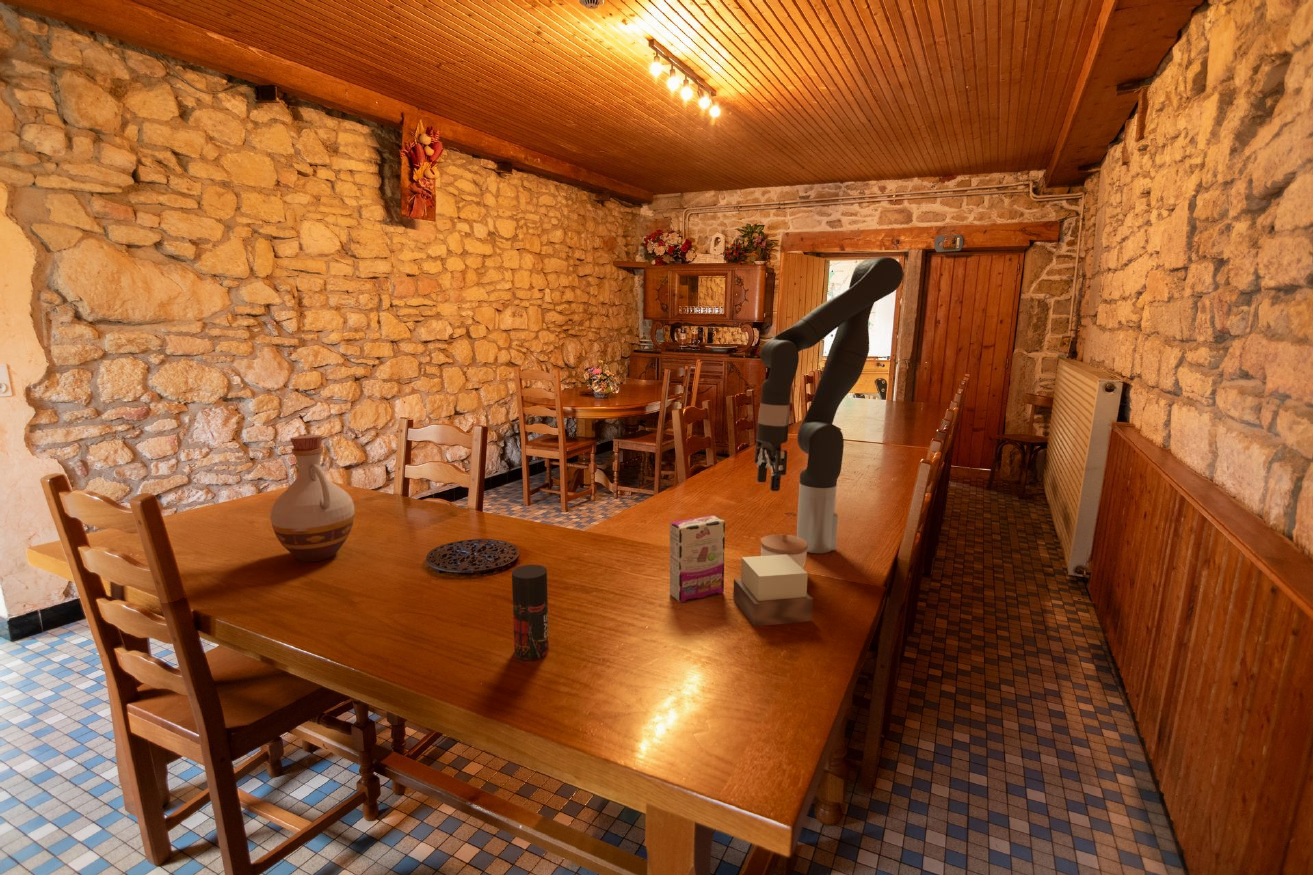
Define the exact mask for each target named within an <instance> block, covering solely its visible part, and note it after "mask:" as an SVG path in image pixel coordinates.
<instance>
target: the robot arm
mask: <svg viewBox="0 0 1313 875" xmlns="http://www.w3.org/2000/svg"><path fill="white" fill-rule="evenodd" d="M903 269H904V268H903V265H902V264H901V263H900V262H899V261H898V260H897V259H895V258H893V257H890V256H881V257H872V258H868V259H864V260H863V261H861V262H859V263H858V264H857V265H856V266H855V268H854V270H853V272H852V275H851V278H850V282H849V286H848V289H846V290H844V291H843V292H842V293H840V294H838V295H836V296H834V297H833V298H830V299H829V300H827V301H825V302H823V303H822V304H820V305H818V306H817V307H815V308H813V309H812V310H811V311H810V312H808V313H807V314H806V315H804V316H803V317H802V318H800V320H798V321H797V322H796V323H795V324H794V325H792V326H790V327H788V328H786V329H785V330H783V331H781V332H780V333H778V334H776V335H774V336H773V337H772V338H770V339H769V340H768V341H766V342H765V343H764V345H763V346H762V348H761V349H760V353H759V354H760V356H759V358H760V361H761V363H762V364H763V365H764V366H765V367H766V368H769V373H768V378H767V379H766V380H764V381H763V383H762V384H761V394H760V403H759V404H760V405H759V410H758V416H757V417H758V418H757V429H756V430H757V431H756V443H755V452H754V459H753V460H754V464H756V467H757V478H756V480H757V482H758V483H766V481H767V473H768V468H769V469H770V473H771V476H770V487H769V488H770V491H772V492H779V491H781V490H780V489H781V478H782V476H786V475H787V463H788V451H787V450H783V449H782V444H786V443H787V442H788V439H789V438H788V437H789V426H790V416H791V411H790V410H791V409H790V406H791V405H790V404H791V390H792V386H793V383H794V380H795V377H796V374H797V373H796V372H797V371H798V366H799V361H800V360H799V359H800V358H799V357H800V355H799V353H800V352H801V351H804V350H807V349H810V348H812V347H814V346H815V345H817V344H818V343H820V342H821V341H823V339H824V338H826V337H827V336H828V335H829V334H831V333H832V332H834V330H835V329H836V331H835V334H834V338H833V340H832V344H831V346H830V348H829V350H828V354H827V357H826V360H825V363H824V366H823V369H822V372H821V375H820V378H819V381H818V383H817V387H816V389H815V392H814V395H813V397H812V400H811V403H810V405H809V406H808V409H807V411H806V413H805V414H804V415H805V416H804V418H803V420H802V422H801V424H800V425H799V426H800V427H799V429H798V432H797V445H798V447H799V449H800V450H801V451H802V452H804V453H805V454H808V455H807V464H806V468H805V469H802V470H801V471H800V474H799V485H798V486H799V487H798V489H799V490H798V502H797V505H798V506H797V521H796V522H797V525H796V537H799V538H802V539H804V540H805V541H806V542H807V543H808V548H807V553H810V554H827V553H830V552H832V551H836V549H837V534H838V533H837V532H838V523H839V519H838V518H839V516H838V513H836V499H837V485H838V480H839V479H838V478H839V477H840V475H841V472H842V464H843V456H844V446H845V445H844V443H845V441H844V434H843V432H842V430H841V429H840V428H839V427H838V426H837V425H835V424H833V423H834V419H835V416H836V413H837V411H838V409H839V406H840V405H841V403H842V402H843V400H844V398H845V397H846V396H847V395H848V394H849V392H850V391H852V389H853V388H854V387H855V385H857V382H858V381H859V379H860V377H861V376H862V373H863V370H864V367H865V365H866V362H867V359H868V356H869V352H870V332H869V331H870V330H869V321H870V315H871V313H872V309H873V307H874V304H875V303H876V302H877V301H879V300H881V299H883V298H885V297H887V296H889V295H890V294H892V293H894V292H896V290H898V288H899V287H900V286H901V283H902V281H903V278H904V270H903ZM767 467H768V468H767Z"/></svg>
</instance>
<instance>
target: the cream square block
mask: <svg viewBox="0 0 1313 875" xmlns="http://www.w3.org/2000/svg"><path fill="white" fill-rule="evenodd" d="M740 561H741V566H740V567H741V568H740V578H741V581H742V582H743V583H744V585H745V586H746V587H747V588H748V589H749V591H750V592H751V593H752V594H753V595H754V597H755V598H756V599H757V600H758V601H763V600H776V599H788V598H800V597H806V593H807V594H808V592H807V590H808V588H807V587H808V576H809V575H808V574H809V572H807V571H806V570H805V569H804V567H803V568H802V567H800V566H799V565H798V564H797V563H796V562H795V561H794V560H793V559H791V558H790V557H789V556H788V555H787V554H785V555H769V556H761V555H755V556H743V557H741V560H740Z"/></svg>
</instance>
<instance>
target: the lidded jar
mask: <svg viewBox="0 0 1313 875" xmlns="http://www.w3.org/2000/svg"><path fill="white" fill-rule="evenodd" d="M807 548H808V543H807V542H806V541H805V540H804V539H802V538H799V537H797V535H796V536H795V535H790V534H784V533H783V534H782V533H777V534H776V533H773V534H769V535H765V536H763V537H762V538H761V539H760V556H769V555H785V554H787V555H788V556H789V557H790V558H791V559H793V560H794V561H795V562H796V563H797V564H798V565H799V566H800V567H802V568H803V569H804V566H805V564H806V561H807V560H806V559H807V554H808V552H807Z"/></svg>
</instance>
